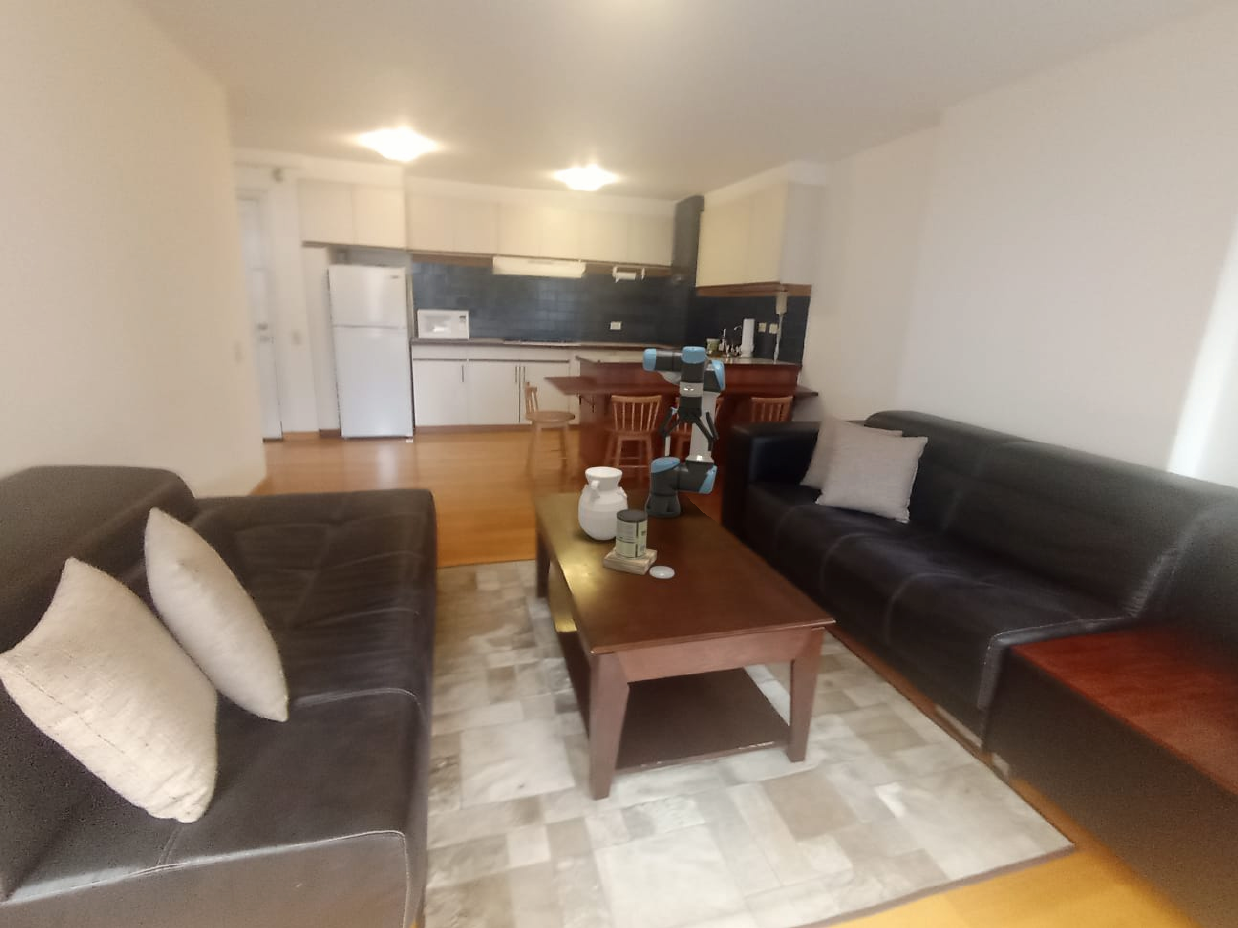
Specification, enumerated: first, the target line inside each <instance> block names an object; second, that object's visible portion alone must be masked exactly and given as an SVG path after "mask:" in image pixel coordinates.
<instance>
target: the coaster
mask: <svg viewBox="0 0 1238 928" xmlns="http://www.w3.org/2000/svg"><path fill="white" fill-rule="evenodd" d="M649 575H650V576H651V577H654V578H656V579H671V578H673V577H674V576H675V570H674V569H672V568H671V567H669V566H664V565H663V566H662V565H658V566H653V567H650V568H649Z"/></svg>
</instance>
